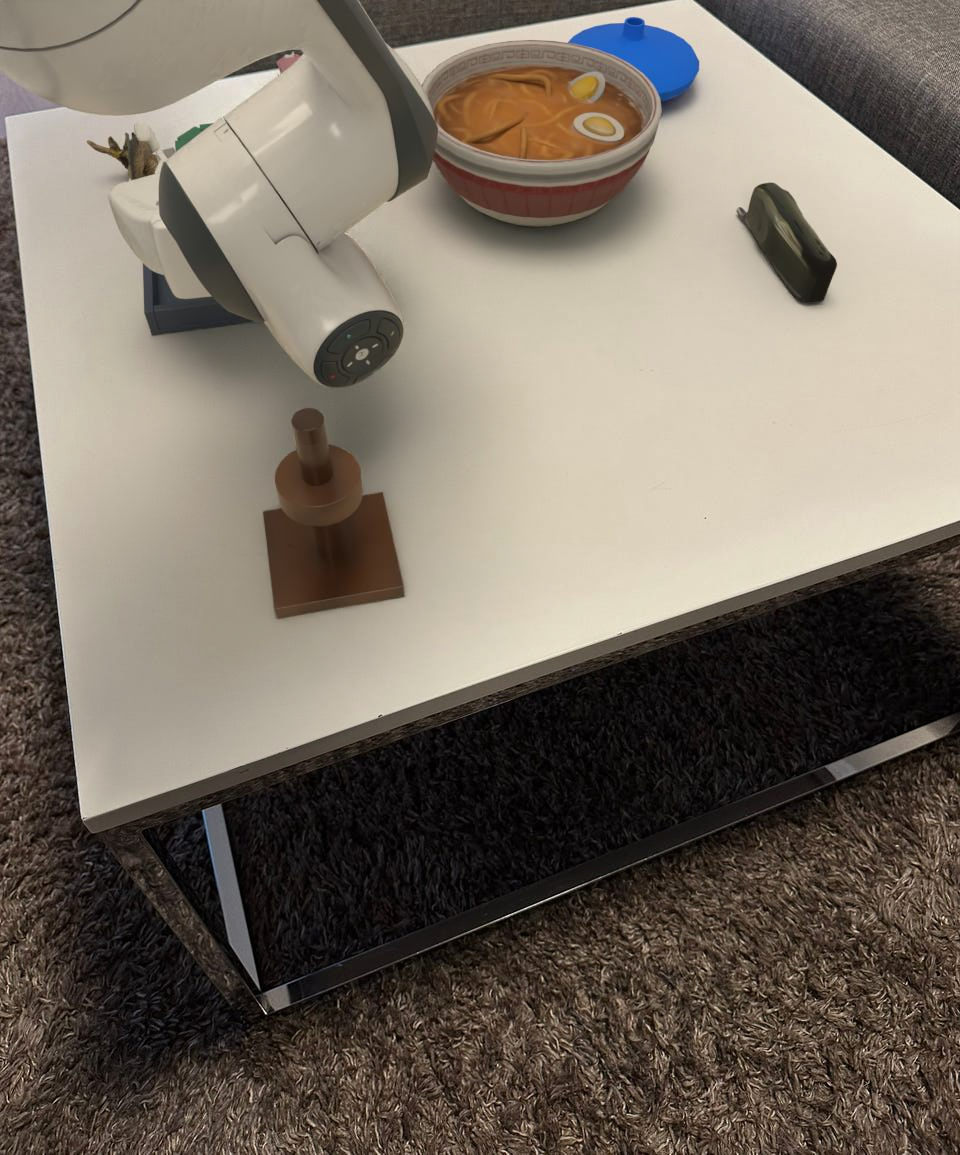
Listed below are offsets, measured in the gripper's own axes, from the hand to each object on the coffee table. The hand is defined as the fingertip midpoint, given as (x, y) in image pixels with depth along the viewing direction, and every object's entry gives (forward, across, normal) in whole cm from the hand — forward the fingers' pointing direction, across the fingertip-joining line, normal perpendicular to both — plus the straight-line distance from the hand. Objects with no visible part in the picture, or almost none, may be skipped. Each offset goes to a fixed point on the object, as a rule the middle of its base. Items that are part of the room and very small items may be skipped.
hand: (212, 145), depth 80 cm
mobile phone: (-23, -46, +12) cm, 52 cm away
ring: (-1, 0, +1) cm, 1 cm away
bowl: (-2, -30, +12) cm, 33 cm away
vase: (+11, -51, +12) cm, 54 cm away
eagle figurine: (+16, +4, +12) cm, 20 cm away
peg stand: (-36, +6, +12) cm, 38 cm away
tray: (-1, 0, +12) cm, 12 cm away
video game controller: (+22, -17, +12) cm, 31 cm away
